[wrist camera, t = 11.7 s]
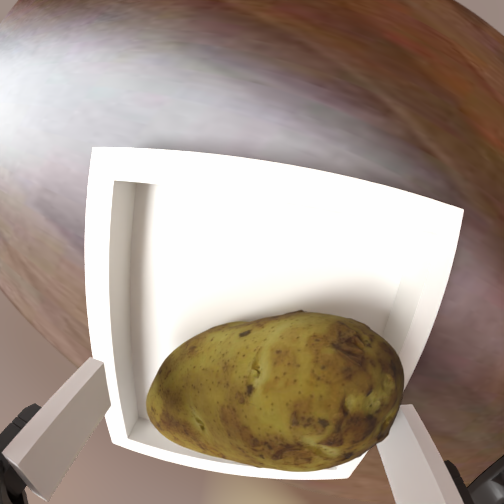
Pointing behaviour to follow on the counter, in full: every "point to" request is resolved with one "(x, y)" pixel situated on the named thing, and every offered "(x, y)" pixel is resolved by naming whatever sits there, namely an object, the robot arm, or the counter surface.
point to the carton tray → (246, 268)
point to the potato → (280, 391)
